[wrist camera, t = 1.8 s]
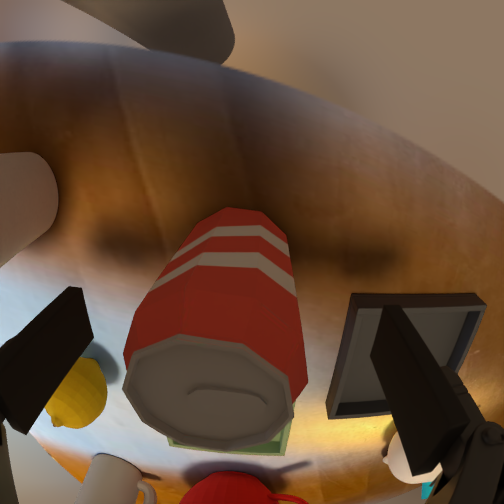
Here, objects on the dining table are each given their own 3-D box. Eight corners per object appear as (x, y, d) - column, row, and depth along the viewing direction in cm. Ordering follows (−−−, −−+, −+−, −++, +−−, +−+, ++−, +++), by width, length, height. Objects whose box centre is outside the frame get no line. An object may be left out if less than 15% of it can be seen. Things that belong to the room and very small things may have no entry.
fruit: (57, 347, 24) (14, 405, 16) (90, 329, 22) (41, 394, 15) (96, 389, 25) (63, 450, 18) (132, 376, 24) (99, 447, 17)
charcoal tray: (351, 293, 20) (358, 308, 18) (475, 293, 20) (487, 305, 18) (325, 403, 24) (328, 419, 22) (433, 393, 24) (439, 406, 22)
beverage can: (281, 303, 21) (290, 464, 9) (186, 289, 20) (120, 436, 9) (298, 214, 18) (343, 341, 7) (191, 199, 18) (89, 302, 7)
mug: (421, 500, 16) (495, 482, 16) (421, 404, 22) (491, 408, 23) (346, 506, 24) (422, 499, 25) (352, 434, 30) (424, 438, 31)
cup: (88, 447, 30) (65, 497, 22) (159, 466, 30) (143, 525, 22) (102, 470, 33) (84, 516, 25) (166, 488, 33) (154, 538, 25)
